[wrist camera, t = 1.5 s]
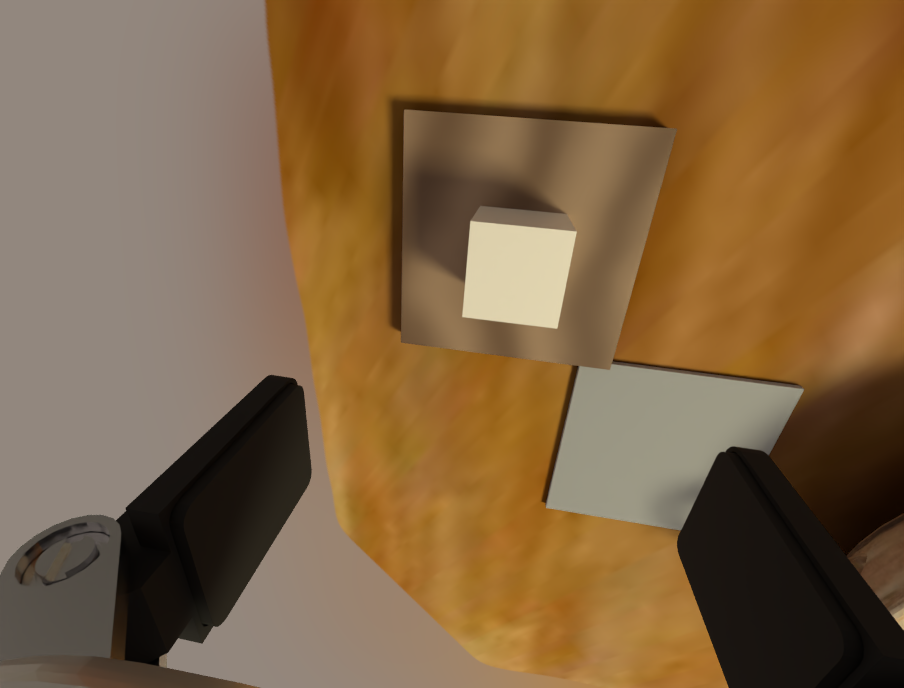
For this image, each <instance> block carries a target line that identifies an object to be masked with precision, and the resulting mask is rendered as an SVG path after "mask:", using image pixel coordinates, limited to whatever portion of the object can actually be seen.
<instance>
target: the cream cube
mask: <svg viewBox="0 0 904 688" xmlns="http://www.w3.org/2000/svg"><path fill="white" fill-rule="evenodd" d="M576 233H577V231H576V229H575V227H574V226H573V224H572V222H571V220H570V218H569V217H568V215H567V214H562V213H551V212H541V211H530V210H519V209H509V208H498V207H487V206H480V207H479V208H478V210H477V212H476V213H475V215H474V216H473V218H472V219H471V221H470V232H469V244H468V255H467V267H466V279H465V291H464V302H463V314H462V317H466V318H474V319H482V320H490V321H498V322H506V323H514V324H523V325H531V326H539V327H547V328H555V329H557V328H558V323H559V318H560V313H561V308H562V303H563V298H564V293H565V288H566V283H567V278H568V273H569V268H570V263H571V258H572V253H573V248H574V243H575V238H576Z"/></svg>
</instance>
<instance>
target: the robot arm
mask: <svg viewBox="0 0 904 688" xmlns="http://www.w3.org/2000/svg"><path fill="white" fill-rule="evenodd" d="M310 479H311V460H310V450H309V441H308V430H307V420H306V409H305V399H304V391H303V388H302V386H298V385H297V382H296V380H295V379H293V378H287V377H281V376H274V375H269V376H267V377H266V378H265V379H264V380H262V381H261V382H260V383H259V384H258V385H257V386H256V387H255V388H254V389H253V390H252V391H251V392H250V393H248V394H247V395H246V396H245V397H244V398H243V399H242V400H241V401H240V402H239V403H238V404H237V405H236V406H235V407H233V408H232V409H231V410H230V411H229V412H228V413H227V414H226V415H225V416H224V417H223V418H222V419H221V420H219V421H218V422H217V423H216V424H215V425H214V426H213V427H212V428H211V429H210V430H209V431H208V432H207V433H206V434H204V435H203V436H202V437H201V438H200V439H199V440H198V441H197V442H196V443H195V444H194V445H193V446H192V447H190V448H189V449H188V450H187V451H186V452H185V453H184V454H183V455H182V456H181V457H180V458H179V459H178V460H177V461H175V462H174V463H173V464H172V465H171V466H170V467H169V468H168V469H167V470H166V471H165V472H164V473H163V474H162V475H160V477H158V478H157V479H156V480H155V481H154V482H153V483H152V484H151V485H150V486H149V487H148V488H146V490H144V491H143V492H142V493H141V494H140V495H139V496H138V497H137V498H136V499H135V500H134V501H133V502H131V503H130V504H129V505H128V506H127V507H126V512H125V513H124V514H123V515H121V516H120V517H119V518H118V519H117V520H116V521H115V520H114V519H113V518H111V517H107V516H104V515H87V516H82V517H77V518H72V519H69V520H67V521H64V522H61V523H59V524H56V525H54V526H52V527H50V528H48V529H46V530H44V531H43V532H41V533H39V534H38V535H36V536H34V537H33V538H32V539H30V540H29V541H28V542H26V543H25V544H24V545H22V546H21V547H20V548H19V549H18V550H17V551H16V552H15V553H14V554H13V555H12V556H11V557H10V559H9V560H8V561H7V563H6V565H5V567H4V569H3V570H2V572H1V575H0V688H259V687H254V686H250V685H246V684H242V683H237V682H233V681H227V680H223V679H218V678H213V677H208V676H203V675H199V674H194V673H188V672H184V671H179V670H174V669H169V668H167V653H168V652H169V650H170V649H171V648H172V646H173V645H174V643H175V642H176V640H177V639H178V638H180V639H185V640H189V641H194V642H198V643H203V642H204V640H205V639H206V637H207V635H208V634H209V632H210V631H211V629H212V627H213V626H215V627H218V626H219V625H221V624H222V623H223V622H224V620H225V619H226V618H227V616H228V615H229V613H230V611H231V610H232V608H233V607H234V605H235V603H236V602H237V600H238V598H239V597H240V595H241V593H242V592H243V590H244V589H245V587H246V585H247V584H248V582H249V581H250V579H251V577H252V576H253V574H254V573H255V571H256V569H257V568H258V566H259V564H260V562H261V561H262V560H263V558H264V556H265V555H266V553H267V551H268V550H269V548H270V547H271V545H272V543H273V542H274V540H275V538H276V537H277V535H278V534H279V532H280V530H281V529H282V527H283V525H284V524H285V522H286V521H287V519H288V517H289V516H290V514H291V513H292V511H293V509H294V508H295V506H296V504H297V503H298V501H299V500H300V498H301V496H302V495H303V493H304V492H305V490H306V488H307V486H308V485H309V482H310ZM677 548H678V553H679V556H680V559H681V561H682V564H683V567H684V569H685V572H686V575H687V577H688V580H689V583H690V585H691V588H692V591H693V593H694V596H695V599H696V601H697V604H698V607H699V609H700V612H701V615H702V617H703V620H704V623H705V625H706V628H707V631H708V633H709V636H710V639H711V641H712V644H713V647H714V649H715V652H716V655H717V657H718V660H719V663H720V665H721V668H722V671H723V673H724V676H725V679H726V681H727V684H728V687H729V688H904V630H903V629H902V627H901V626H900V625H899V624H898V622H897V621H896V620H895V618H894V617H893V616H892V615H891V613H890V612H889V611H888V609H887V608H886V607H885V606H884V604H883V603H882V602H881V600H880V599H879V598H878V596H877V595H876V594H875V593H874V591H873V590H872V589H871V587H870V586H869V585H868V584H867V582H866V581H865V580H864V578H863V577H862V576H861V574H860V573H859V572H858V571H857V569H856V568H855V567H854V565H853V564H852V563H851V562H850V560H849V559H848V558H847V556H846V555H845V554H844V553H843V551H842V550H841V549H840V547H839V546H838V545H837V543H836V542H835V541H834V540H833V538H832V537H831V536H830V534H829V533H828V532H827V531H826V529H825V528H824V527H823V525H822V524H821V523H820V521H819V520H818V519H817V518H816V516H815V515H814V514H813V512H812V511H811V510H810V509H809V507H808V506H807V505H806V503H805V502H804V501H803V499H802V498H801V497H800V496H799V494H798V493H797V492H796V490H795V489H794V488H793V487H792V485H791V484H790V483H789V481H788V480H787V479H786V478H785V476H784V475H783V474H782V472H781V471H780V470H779V468H778V467H777V466H776V465H775V463H774V462H773V461H772V459H771V458H770V457H769V456H768V455H767V454H766V453H765V452H764V451H761V450H755V449H748V448H742V447H735V446H733V447H730V448H728V449H727V450H726V452H720V453H719V454H718V455H717V456H716V458H715V461H714V463H713V465H712V467H711V469H710V471H709V473H708V475H707V477H706V479H705V481H704V484H703V486H702V488H701V490H700V492H699V494H698V496H697V498H696V500H695V502H694V504H693V507H692V509H691V511H690V513H689V515H688V517H687V519H686V521H685V523H684V525H683V527H682V530H681V532H680V534H679V536H678V541H677Z"/></svg>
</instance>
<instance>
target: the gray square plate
mask: <svg viewBox="0 0 904 688" xmlns="http://www.w3.org/2000/svg"><path fill="white" fill-rule="evenodd" d="M803 391H804V389H803V388H802V387H801V386H799V385H791V384H784V383H776V382H768V381H760V380H753V379H745V378H737V377H730V376H722V375H714V374H706V373H699V372H691V371H683V370H676V369H668V368H660V367H653V366H645V365H637V364H629V363H622V362H614V361H612V365H611V368H610V370H606V369H598V368H590V367H583V366H578V369H577V373H576V377H575V381H574V386H573V390H572V394H571V398H570V403H569V407H568V411H567V415H566V419H565V424H564V428H563V432H562V436H561V441H560V445H559V449H558V453H557V458H556V462H555V466H554V470H553V474H552V479H551V483H550V487H549V491H548V496H547V500H546V508H551V509H557V510H563V511H569V512H575V513H581V514H586V515H592V516H598V517H604V518H610V519H616V520H622V521H628V522H634V523H640V524H646V525H652V526H658V527H663V528H669V529H675V530H682V527H683V525H684V523H685V521H686V519H687V517H688V515H689V513H690V511H691V509H692V507H693V504H694V502H695V500H696V498H697V496H698V494H699V492H700V490H701V488H702V486H703V484H704V481H705V479H706V477H707V475H708V473H709V471H710V469H711V467H712V465H713V463H714V461H715V458H716V456H717V455H718V454H719V453H720V452H726V450H727V449H728V448H730V447H733V446H735V447H742V448H748V449H755V450H761V451H764V452H765V453H766V454H767V455H768V456H769V454H770V452H771V450H772V448H773V447H774V445H775V443H776V441H777V439H778V437H779V435H780V434H781V432H782V430H783V428H784V426H785V424H786V422H787V421H788V419H789V417H790V415H791V413H792V411H793V409H794V408H795V406H796V404H797V402H798V400H799V398H800V396H801V394H802V393H803Z"/></svg>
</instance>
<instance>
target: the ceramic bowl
mask: <svg viewBox="0 0 904 688" xmlns="http://www.w3.org/2000/svg"><path fill="white" fill-rule="evenodd" d="M847 558H848V559H849V560H850V562H851V563H852V564H853V565H854V567H855V568H856V569H857V571H858V572H859V573H860V574H861V576H862V577H863V578H864V580H865V581H866V582H867V584H868V585H869V586H870V587H871V589H872V590H873V591H874V593H875V594H876V595H877V596H878V598H879V599H880V600H881V602H882V603H883V604H884V606H885V607H886V608H887V609H888V611H889V612H890V613H891V615H892V616H893V617H894V618H895V620H896V621H897V622H898V624H899V625H900V626H901V627H902V629H903V630H904V513H903V514H901V515H899V516H898V517H896V518H894V519H892V520H891V521H889V522H887V523H885V524H884V525H882V526H880V527H879V528H878V529H876V530H875V531H874V532H872V533H871V534H870V535H868V536H867V537H866V538H865V539H863V540H862V541H861V542H859V543H858V544H857V545H856V547H855V548H854V549H853V550H852V551H851V552H850V553H849V554H848V555H847Z"/></svg>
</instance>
